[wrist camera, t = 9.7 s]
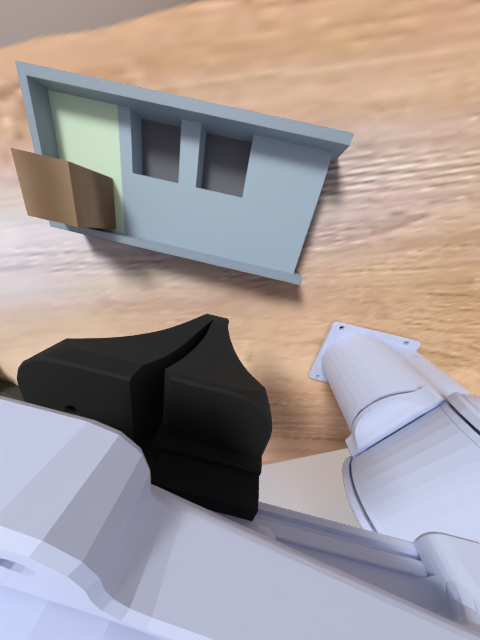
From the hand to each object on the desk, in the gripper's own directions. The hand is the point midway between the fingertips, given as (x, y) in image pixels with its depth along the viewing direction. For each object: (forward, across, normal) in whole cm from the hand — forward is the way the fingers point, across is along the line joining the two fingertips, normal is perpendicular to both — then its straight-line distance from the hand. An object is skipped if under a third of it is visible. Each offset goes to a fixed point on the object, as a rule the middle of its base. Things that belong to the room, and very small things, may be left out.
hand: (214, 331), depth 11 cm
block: (+9, +14, -5) cm, 18 cm away
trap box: (+10, +6, -8) cm, 14 cm away
